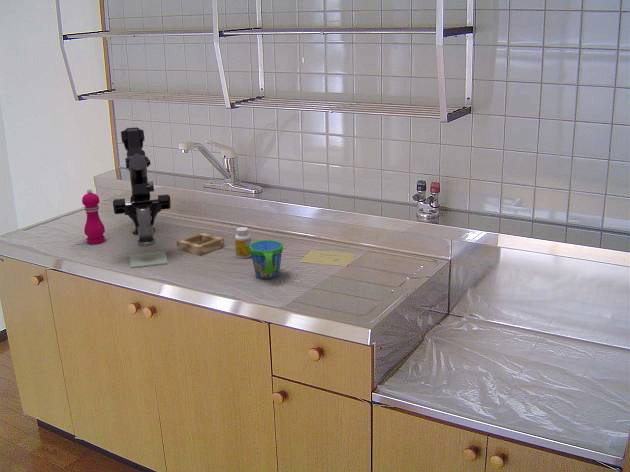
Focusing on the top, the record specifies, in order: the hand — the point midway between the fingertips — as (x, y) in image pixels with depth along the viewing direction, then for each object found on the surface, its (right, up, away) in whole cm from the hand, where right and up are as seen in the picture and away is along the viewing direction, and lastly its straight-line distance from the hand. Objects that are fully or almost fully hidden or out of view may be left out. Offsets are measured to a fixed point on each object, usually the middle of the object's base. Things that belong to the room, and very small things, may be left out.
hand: (144, 226), depth 232 cm
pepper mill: (-24, -6, +26) cm, 36 cm away
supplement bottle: (+32, -10, +7) cm, 35 cm away
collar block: (+16, -7, +16) cm, 24 cm away
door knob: (0, -6, +3) cm, 7 cm away
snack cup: (+42, -16, -11) cm, 46 cm away
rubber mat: (0, -11, +5) cm, 13 cm away
